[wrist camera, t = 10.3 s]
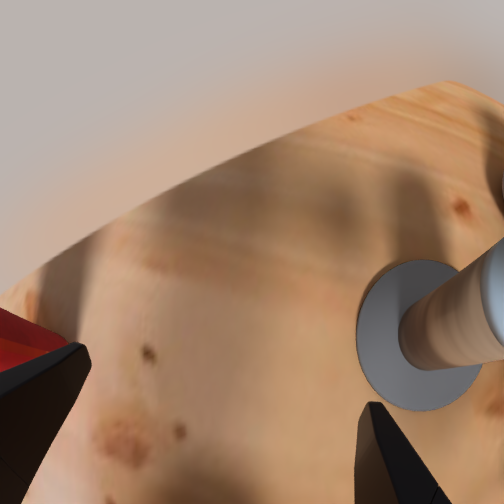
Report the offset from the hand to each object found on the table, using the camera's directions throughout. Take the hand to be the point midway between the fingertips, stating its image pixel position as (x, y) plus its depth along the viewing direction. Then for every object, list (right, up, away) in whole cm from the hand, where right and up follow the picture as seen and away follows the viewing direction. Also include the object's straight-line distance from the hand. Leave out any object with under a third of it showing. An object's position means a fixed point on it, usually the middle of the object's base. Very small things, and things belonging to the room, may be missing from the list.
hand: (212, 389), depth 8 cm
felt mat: (+15, -2, +12) cm, 19 cm away
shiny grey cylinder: (+15, -2, +12) cm, 19 cm away
